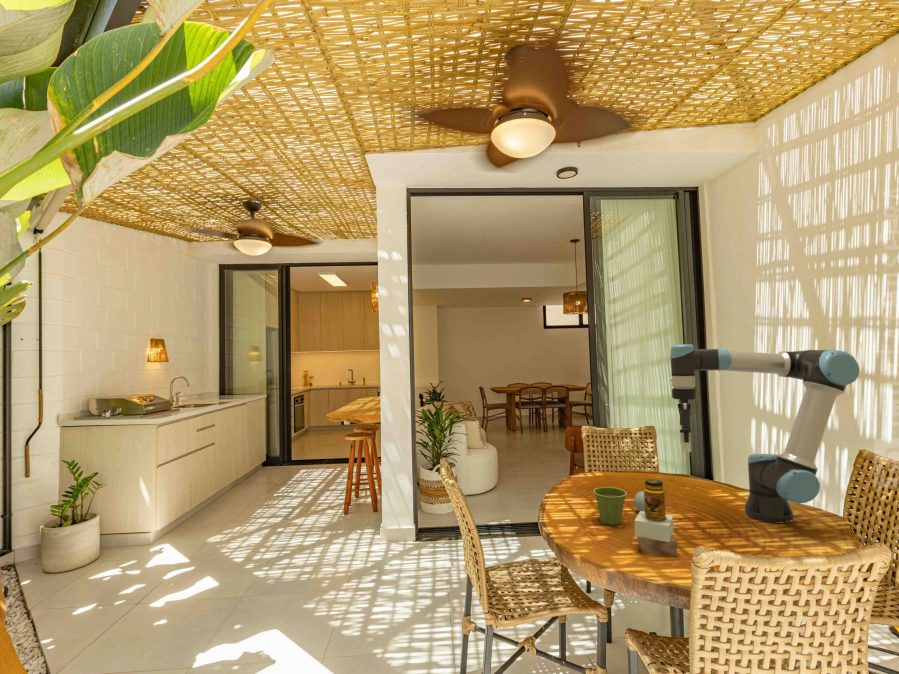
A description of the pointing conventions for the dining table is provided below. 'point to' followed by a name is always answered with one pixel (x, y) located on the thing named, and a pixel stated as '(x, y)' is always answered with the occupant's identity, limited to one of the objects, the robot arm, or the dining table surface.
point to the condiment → (654, 501)
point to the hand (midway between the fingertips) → (685, 447)
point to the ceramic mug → (639, 501)
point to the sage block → (654, 528)
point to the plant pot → (610, 504)
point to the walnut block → (658, 546)
